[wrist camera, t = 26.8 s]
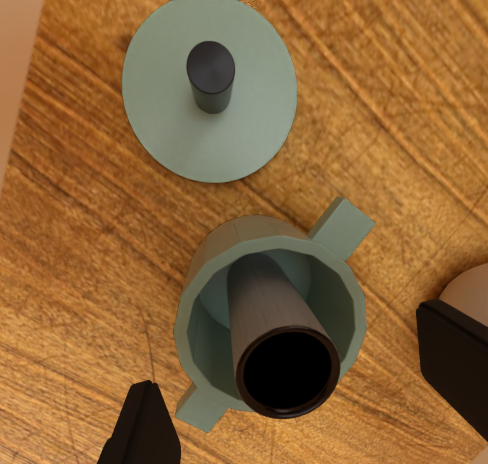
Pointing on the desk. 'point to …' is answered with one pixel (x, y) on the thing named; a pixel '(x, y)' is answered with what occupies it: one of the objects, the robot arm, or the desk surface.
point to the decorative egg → (469, 293)
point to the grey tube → (277, 342)
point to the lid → (209, 89)
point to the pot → (299, 273)
